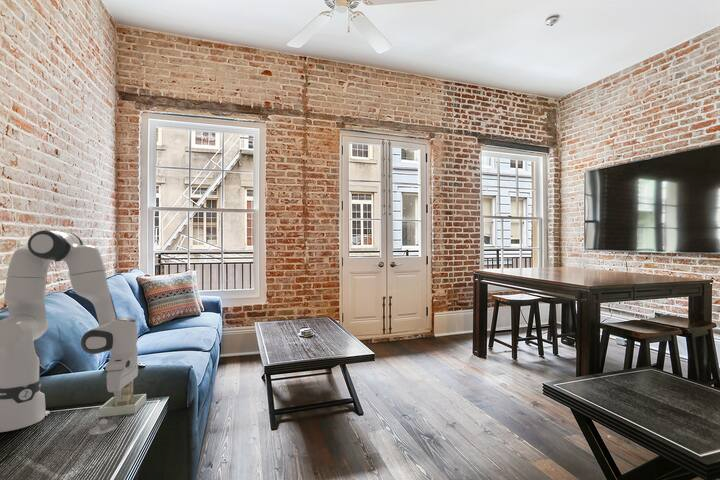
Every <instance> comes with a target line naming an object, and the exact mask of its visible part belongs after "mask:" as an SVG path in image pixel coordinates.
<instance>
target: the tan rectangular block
mask: <svg viewBox="0 0 720 480" xmlns="http://www.w3.org/2000/svg"><path fill="white" fill-rule="evenodd" d="M121 395H122V400H121V401H117V402H116V401H115V405H114V406H124V405H134V403H133V395H134V383H133V384H127V385H126V386H125V387H123V388H122V389H121Z"/></svg>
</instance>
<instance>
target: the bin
mask: <svg viewBox="0 0 720 480" xmlns="http://www.w3.org/2000/svg"><path fill="white" fill-rule="evenodd" d="M145 404H146V405H147V393H141V394H133V405H124V406H115V396H112V397H111V398H110V399H108V400H107V401H106V402H105V403H104V404H102V405H101V406H100V407H99V408H98V418H103V417H104V418H105V417H112V416H122V415H132V414H136V413H137V412H138V411H139V410H140V408H142V407H143V406H144V405H145Z"/></svg>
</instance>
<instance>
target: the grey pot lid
mask: <svg viewBox="0 0 720 480" xmlns="http://www.w3.org/2000/svg"><path fill="white" fill-rule="evenodd" d="M108 421H109V420H108V419H106V418H101V419H100V421H99V423H98V425H97V426H95V427H93V428H91V429H89V431H88V434H89V435H91V436H92V435H101V434H105V433H108V432H109V433H110V432H111V431H114V430H116V429H117V428H118V426H119V425H118V424H117V423H108Z"/></svg>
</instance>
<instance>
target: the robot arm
mask: <svg viewBox="0 0 720 480" xmlns="http://www.w3.org/2000/svg"><path fill="white" fill-rule="evenodd" d="M62 261H63V262H65V263H66V265H67V269H68V272H69V274H68V275H69V279H70V280H69V281H70V283H71V285H70V286H71V287H72V290H73V291H74V293H75V294H77V295H78V296H79V297H81V298H83V299H84V298H85V299H86V300H88V301H89V302H90V303H92V305H93V307H94V310H95V314H96V317H97V321H98V327H97V326H96V327H95V328H91V329H90V330H88V331H87V332H85V333H84V334H83V335H82V337H81V339H80V346H81V349H82V350H83V351H84V352H85V353H86V354H90V355H97V354H102V353H105V352H110V358H109V360H108V361H107V363H106V364H105V371H106V372H107V373H106V390H107V392H108V393H113V395H114V396H113V397H115V401H116V402H117V401H121V400H122V395H121V389H122V388H123V387H125V386H126V385H127V384H133V385H134V379H136V378H137V377H138V375H139V362H138V361H139V360H138V357H139V356H138V353H139V351H138V349H139V348H138V344H137V343H138V341H139V340H138V339H139V337H138V336H139V334H138V333H139V330H138V323H137V320H135V319H134V318H132V317H127V316H123V317H122V316H119V317H118V315H117V312H116V309H115V304H114V302H113V297H112V294H111V291H110V288H109V285H108V279H107V274H106V269H105V265H104V261H103V258H102V255H101V252H100V251H99V248H98V247H96V246H94V245H90V244H84V243H83V240H82V239H81V238H80V237H79V236H78V235H77V234H74V233H72V232H67V231H65V230H54V229H53V230H52V229H44V230H40V231H36V232H34V233H33V234H32V235H30V236H29V239H28V241H27V246H24V247H21V248H20V247H19V248H18V249H16V250H15V251H14V252H13V254H12V257H11V259H10V262H9V264H8V268H7V269H8V270H7V274H6V280H5V288H4V295H3V297H4V301H5V302H6V305H7V311H8V317H5V318H2V319H1V320H0V433H4V432H11V431H15V430H16V431H17V430H20V429H24V428H27V427H29V426H33V425H34V424H38V423H39V422H41V421H42V420H43V419H44V418H45V416H46V417H47V416H49V415H50V414H51V413H50V412H51V411H50V410H46V398H45V397H46V396H45V393H43V392H41V391H40V390H41V386H42V384H41V379H40V358H39V356H38V355H37V352H36V349H35V343H34V341H35V340H36V341H37V340H38V339H39V338H41V337H42V336H44V334H45V333H46V332H47V330H48V328H49V326H50V325H49V324H50V323H49V319H48V318H47V313H46V311H47V310H46V305H45V304H46V303H45V302H46V300H45V299H46V297H45V295H46V287H47V278H48V271H49V266H50V265H51V264H52V262H55V263H56V262H58V263H59V262H62ZM48 414H49V415H48Z"/></svg>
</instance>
